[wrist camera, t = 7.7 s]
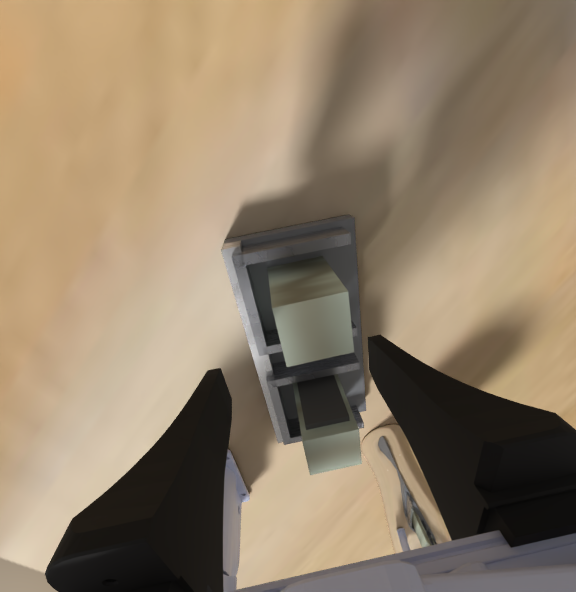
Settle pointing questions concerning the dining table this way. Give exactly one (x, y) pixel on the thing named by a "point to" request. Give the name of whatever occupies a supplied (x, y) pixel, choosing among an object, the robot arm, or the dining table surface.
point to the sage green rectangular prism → (310, 311)
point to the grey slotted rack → (313, 375)
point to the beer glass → (403, 491)
